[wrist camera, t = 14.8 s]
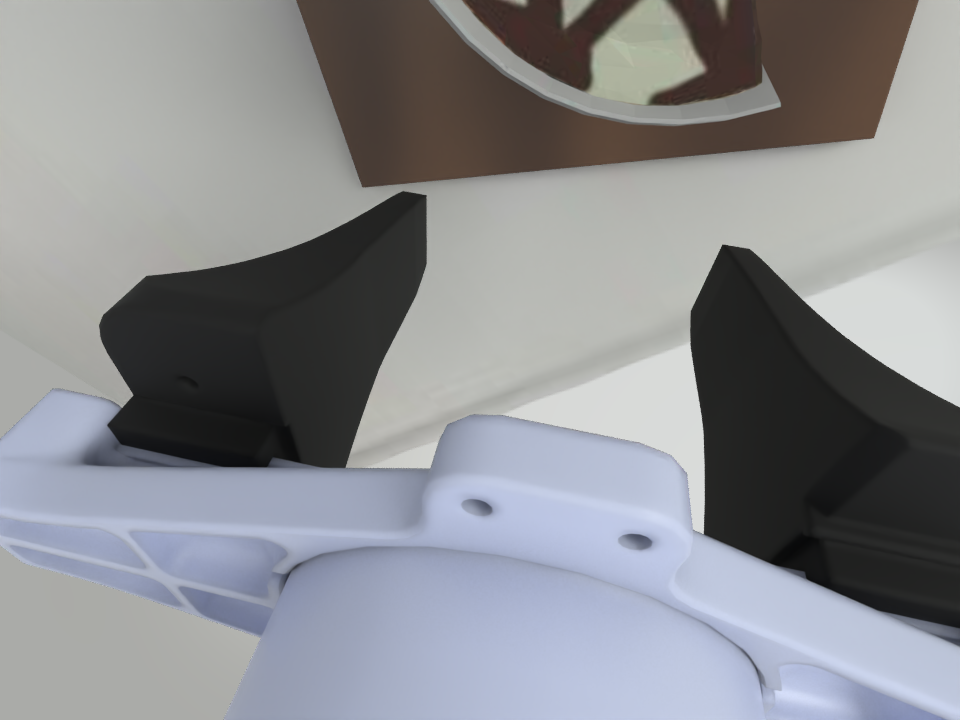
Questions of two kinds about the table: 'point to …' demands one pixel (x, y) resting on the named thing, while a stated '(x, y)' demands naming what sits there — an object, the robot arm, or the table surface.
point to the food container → (625, 55)
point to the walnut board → (566, 133)
